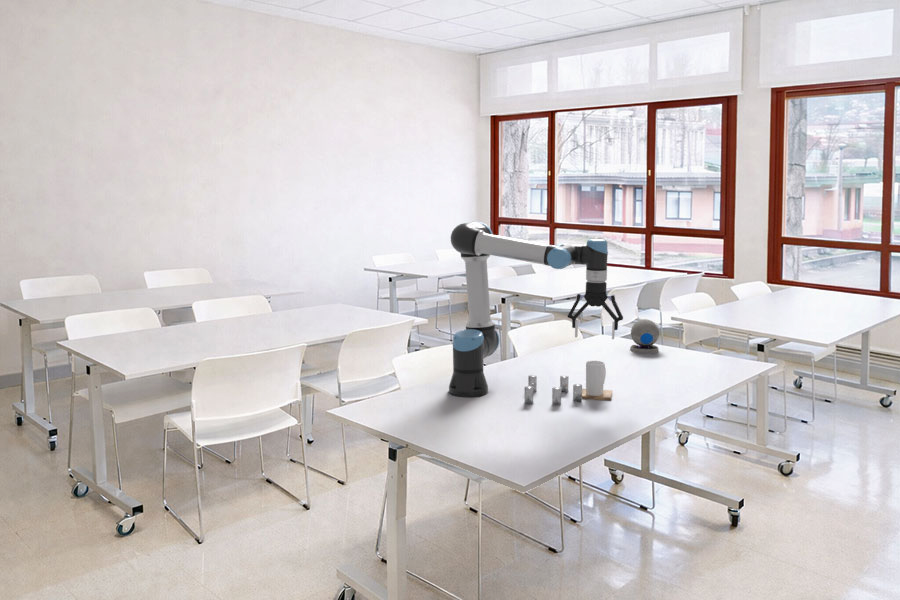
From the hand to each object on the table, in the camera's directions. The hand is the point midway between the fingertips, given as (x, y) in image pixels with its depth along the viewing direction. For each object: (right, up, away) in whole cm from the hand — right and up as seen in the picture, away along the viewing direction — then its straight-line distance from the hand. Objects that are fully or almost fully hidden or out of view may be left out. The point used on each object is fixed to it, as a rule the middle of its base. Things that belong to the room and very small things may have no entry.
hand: (594, 337), depth 279 cm
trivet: (+1, -22, +3) cm, 22 cm away
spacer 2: (-25, -24, -6) cm, 35 cm away
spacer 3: (-15, -24, -7) cm, 29 cm away
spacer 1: (-22, -21, +10) cm, 32 cm away
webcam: (+38, -10, +76) cm, 86 cm away
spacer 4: (-10, -21, +9) cm, 25 cm away
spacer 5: (-7, -23, -3) cm, 24 cm away
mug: (+1, -21, +3) cm, 21 cm away
